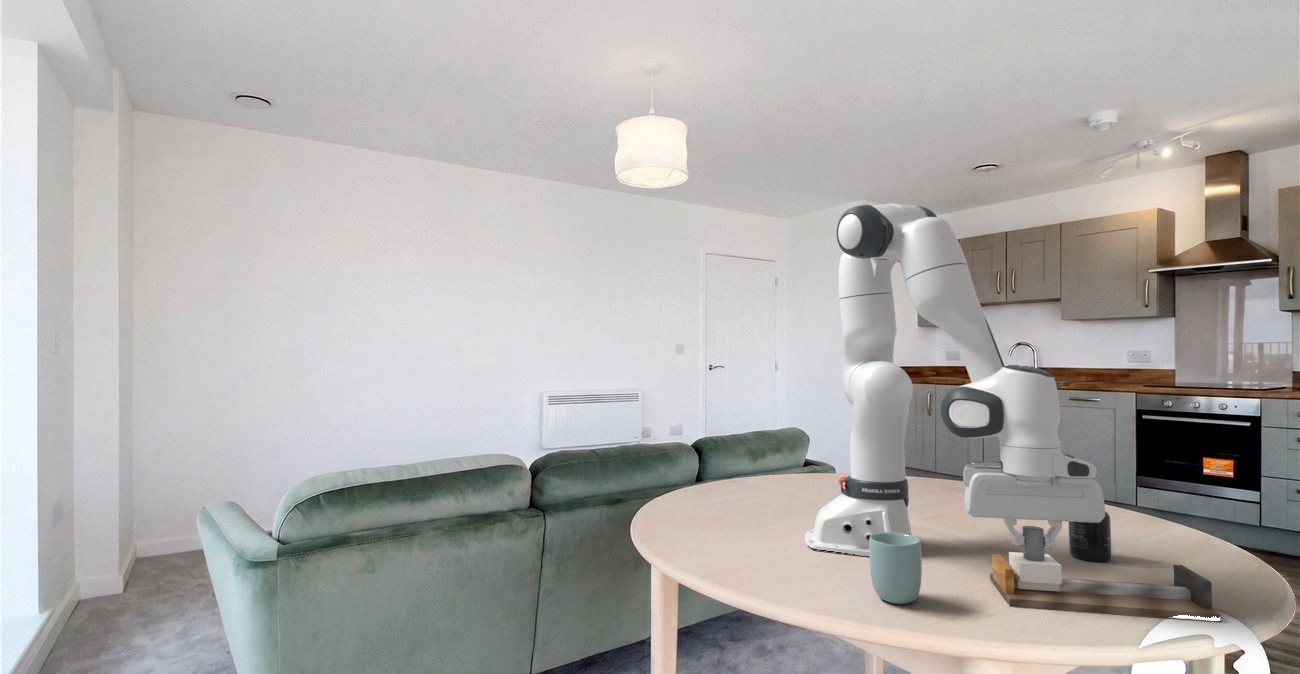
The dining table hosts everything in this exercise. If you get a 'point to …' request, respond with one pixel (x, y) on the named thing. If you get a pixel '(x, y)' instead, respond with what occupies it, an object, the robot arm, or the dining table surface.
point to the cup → (895, 566)
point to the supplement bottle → (1091, 540)
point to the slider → (1035, 563)
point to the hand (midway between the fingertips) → (1033, 546)
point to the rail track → (1112, 594)
